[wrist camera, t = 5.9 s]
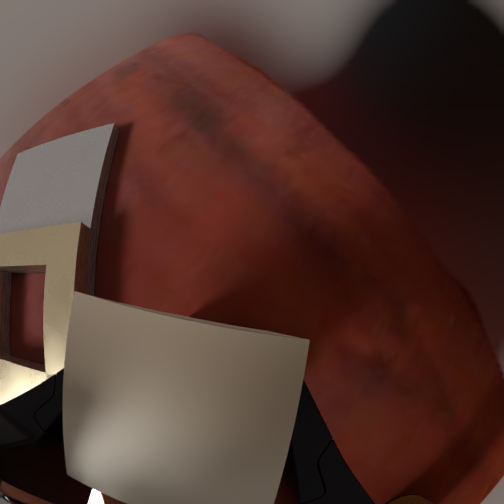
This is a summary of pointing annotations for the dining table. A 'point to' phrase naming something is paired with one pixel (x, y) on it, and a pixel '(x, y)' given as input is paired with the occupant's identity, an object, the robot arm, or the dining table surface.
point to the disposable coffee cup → (411, 500)
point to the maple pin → (177, 405)
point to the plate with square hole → (52, 244)
